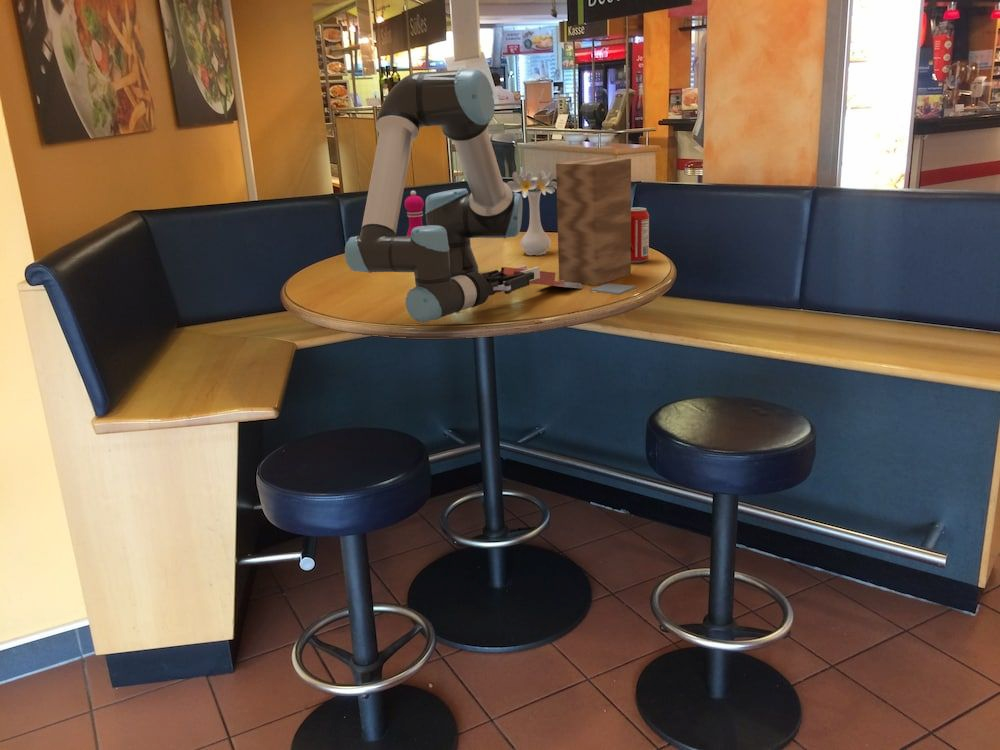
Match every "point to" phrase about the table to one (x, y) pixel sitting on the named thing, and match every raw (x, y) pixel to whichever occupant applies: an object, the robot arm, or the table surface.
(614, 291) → the tile
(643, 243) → the soda can
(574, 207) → the stand
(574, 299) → the table surface
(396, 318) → the table surface
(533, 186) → the flower vase
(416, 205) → the pepper mill
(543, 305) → the table surface
